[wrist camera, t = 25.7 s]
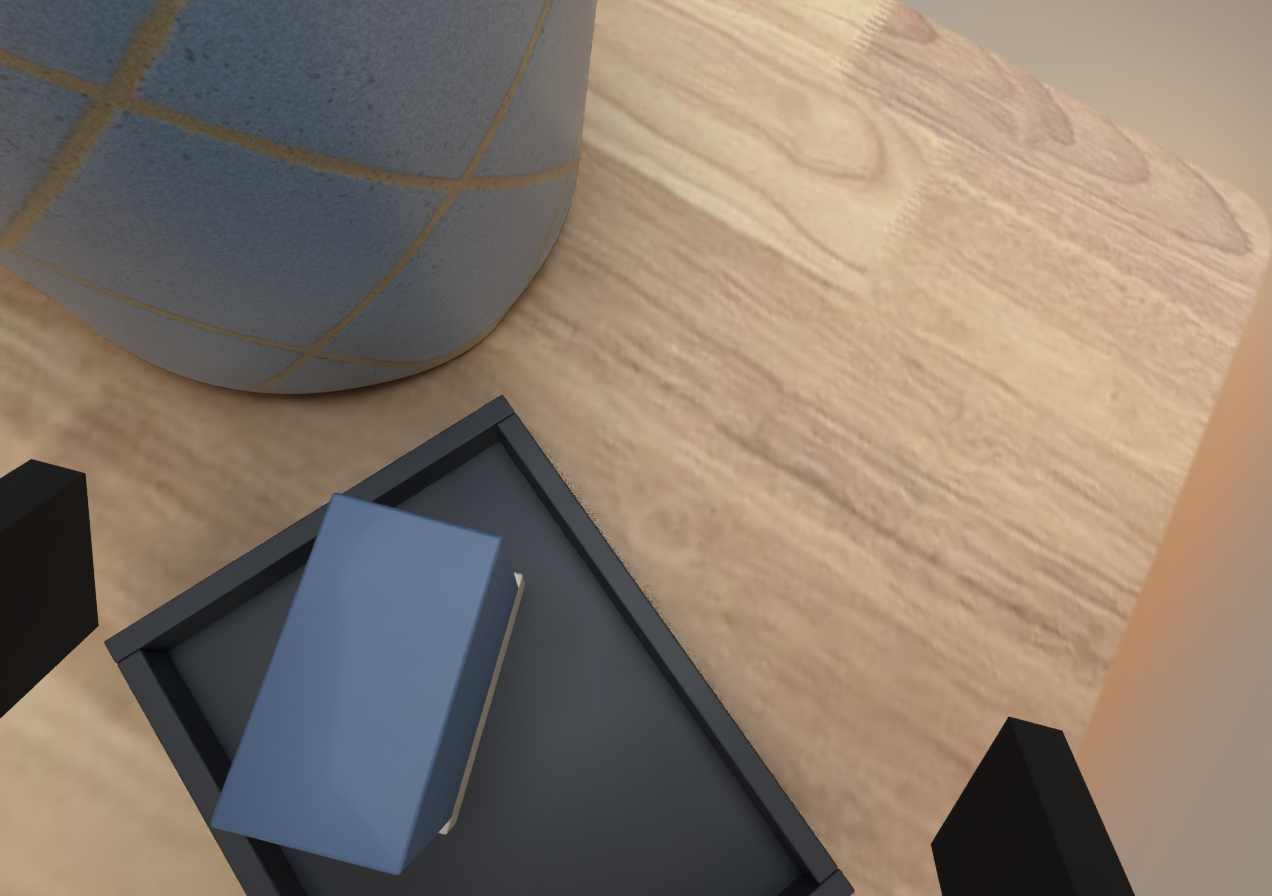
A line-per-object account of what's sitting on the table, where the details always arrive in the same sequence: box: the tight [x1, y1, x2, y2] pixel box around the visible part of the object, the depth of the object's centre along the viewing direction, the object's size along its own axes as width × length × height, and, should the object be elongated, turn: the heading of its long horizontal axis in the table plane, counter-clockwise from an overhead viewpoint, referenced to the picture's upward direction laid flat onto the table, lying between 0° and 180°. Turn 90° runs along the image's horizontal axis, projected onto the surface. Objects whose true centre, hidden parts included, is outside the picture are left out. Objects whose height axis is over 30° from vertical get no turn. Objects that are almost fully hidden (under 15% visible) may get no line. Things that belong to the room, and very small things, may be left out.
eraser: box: [210, 493, 525, 875], centre depth 23 cm, size 8×4×11 cm, turn 166°
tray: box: [104, 395, 854, 896], centre depth 27 cm, size 20×15×3 cm
